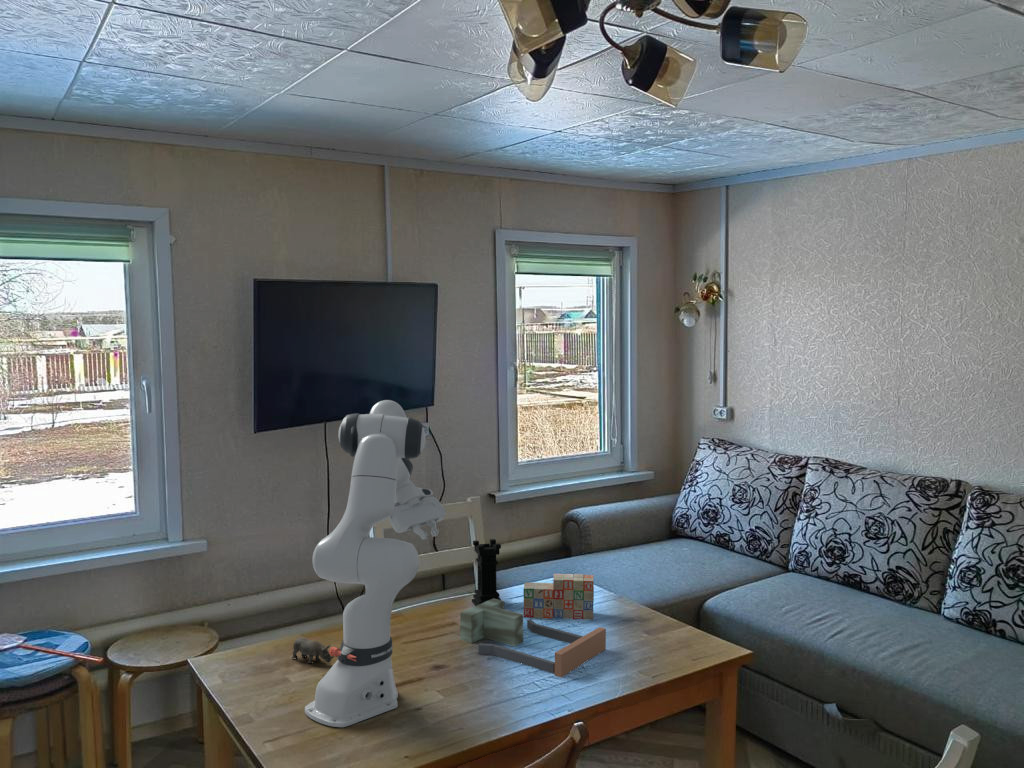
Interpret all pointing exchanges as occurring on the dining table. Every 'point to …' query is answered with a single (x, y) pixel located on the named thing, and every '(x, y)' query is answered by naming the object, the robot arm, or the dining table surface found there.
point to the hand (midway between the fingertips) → (431, 536)
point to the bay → (564, 658)
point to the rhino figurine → (311, 649)
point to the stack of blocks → (560, 597)
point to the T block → (492, 623)
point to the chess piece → (486, 571)
